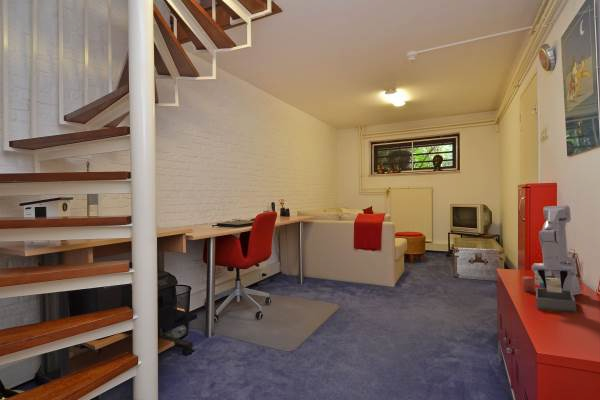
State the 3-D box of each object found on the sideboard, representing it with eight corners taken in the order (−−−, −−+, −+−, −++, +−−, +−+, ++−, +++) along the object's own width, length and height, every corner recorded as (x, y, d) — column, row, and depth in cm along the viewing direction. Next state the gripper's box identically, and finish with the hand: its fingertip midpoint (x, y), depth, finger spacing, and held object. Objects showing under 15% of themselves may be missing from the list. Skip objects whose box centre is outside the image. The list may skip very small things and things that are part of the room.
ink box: (553, 288, 166) (551, 265, 167) (543, 288, 167) (541, 266, 168) (544, 283, 175) (542, 262, 175) (534, 284, 176) (532, 263, 176)
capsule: (528, 289, 168) (527, 276, 168) (537, 291, 163) (536, 278, 163) (521, 290, 167) (519, 277, 167) (529, 292, 162) (528, 279, 162)
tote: (536, 298, 153) (535, 287, 153) (572, 301, 145) (571, 290, 145) (537, 309, 139) (536, 297, 139) (576, 313, 131) (575, 301, 132)
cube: (546, 288, 143) (545, 277, 143) (560, 289, 140) (559, 278, 140) (547, 291, 139) (546, 280, 139) (561, 292, 136) (560, 281, 136)
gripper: (530, 257, 141) (533, 288, 140) (573, 259, 132) (576, 291, 132) (530, 255, 146) (533, 284, 146) (571, 256, 138) (574, 287, 137)
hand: (553, 287), depth 139 cm, fingers closed on cube, 5 cm apart
